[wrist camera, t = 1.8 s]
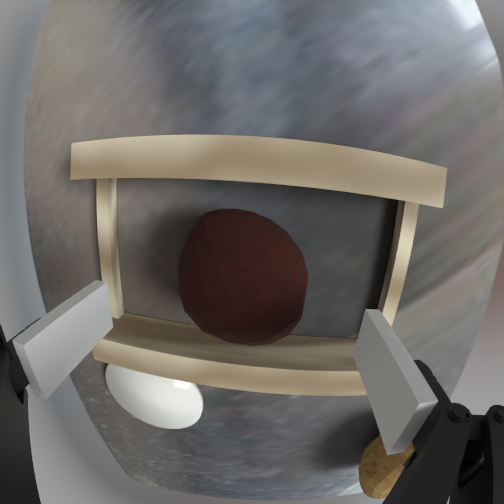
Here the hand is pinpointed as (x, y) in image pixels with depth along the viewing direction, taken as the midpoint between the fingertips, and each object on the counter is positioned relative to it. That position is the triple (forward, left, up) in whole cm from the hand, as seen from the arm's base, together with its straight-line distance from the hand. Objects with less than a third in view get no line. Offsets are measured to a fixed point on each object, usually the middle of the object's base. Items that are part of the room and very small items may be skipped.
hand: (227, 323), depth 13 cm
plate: (+15, -9, -8) cm, 19 cm away
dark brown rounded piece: (0, 0, -9) cm, 9 cm away
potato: (+21, +19, -9) cm, 29 cm away
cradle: (0, 0, -8) cm, 8 cm away
